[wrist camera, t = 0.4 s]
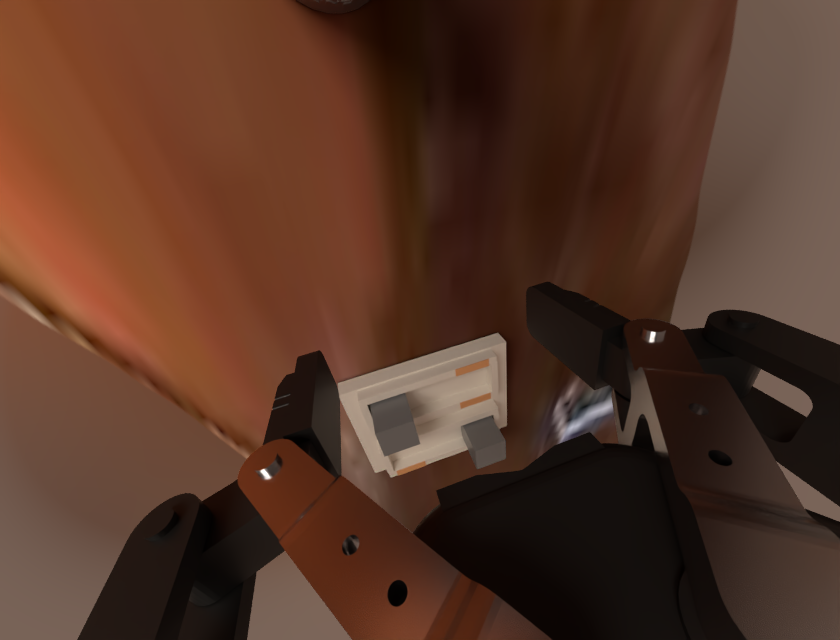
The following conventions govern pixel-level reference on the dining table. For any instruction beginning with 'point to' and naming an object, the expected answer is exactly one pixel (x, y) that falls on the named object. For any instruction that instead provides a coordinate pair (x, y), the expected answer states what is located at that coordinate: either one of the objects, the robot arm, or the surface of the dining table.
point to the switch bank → (432, 400)
